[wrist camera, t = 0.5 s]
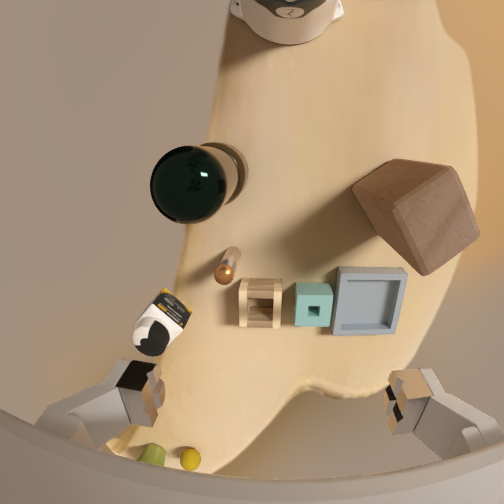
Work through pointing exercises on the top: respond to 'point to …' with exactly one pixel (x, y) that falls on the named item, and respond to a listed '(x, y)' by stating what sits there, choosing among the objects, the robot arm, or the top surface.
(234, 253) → the cylinder
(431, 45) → the top surface
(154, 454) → the plant pot
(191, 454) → the lemon
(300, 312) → the narrow bore block
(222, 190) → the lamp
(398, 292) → the tray
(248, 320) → the wide bore block
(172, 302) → the medicine bottle
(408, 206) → the block
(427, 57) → the top surface
